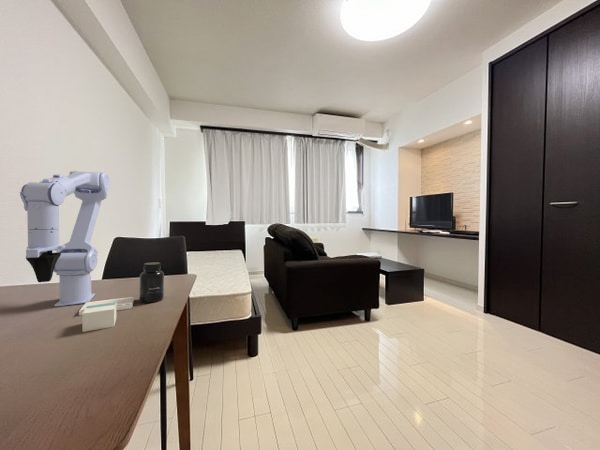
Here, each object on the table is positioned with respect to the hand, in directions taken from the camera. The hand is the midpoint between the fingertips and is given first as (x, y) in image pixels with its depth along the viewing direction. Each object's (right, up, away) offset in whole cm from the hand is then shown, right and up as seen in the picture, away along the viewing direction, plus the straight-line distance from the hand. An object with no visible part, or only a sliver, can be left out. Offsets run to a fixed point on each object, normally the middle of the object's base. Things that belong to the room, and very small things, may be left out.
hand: (44, 281), depth 66 cm
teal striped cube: (+17, -10, -2) cm, 20 cm away
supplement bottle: (+18, -10, +16) cm, 27 cm away
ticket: (+10, -10, +9) cm, 17 cm away
